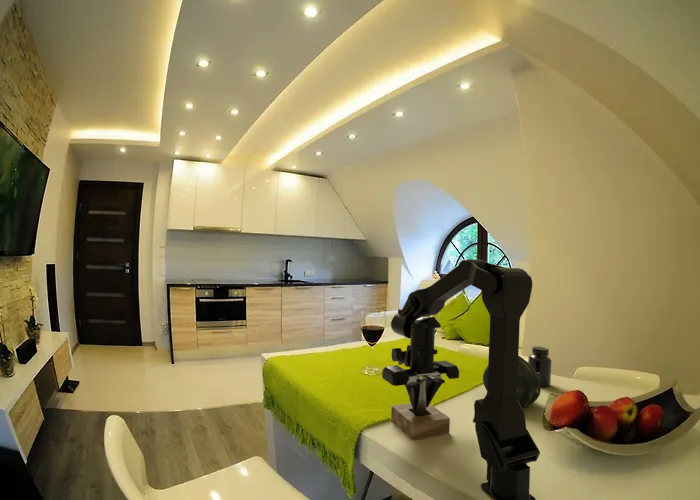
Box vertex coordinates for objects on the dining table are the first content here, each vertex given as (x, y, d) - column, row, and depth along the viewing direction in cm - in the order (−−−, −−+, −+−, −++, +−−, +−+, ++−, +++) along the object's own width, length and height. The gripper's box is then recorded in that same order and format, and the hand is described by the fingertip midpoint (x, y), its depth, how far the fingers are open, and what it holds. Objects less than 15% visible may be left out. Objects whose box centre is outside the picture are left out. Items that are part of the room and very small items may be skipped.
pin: (428, 417, 85) (429, 380, 85) (417, 419, 84) (419, 381, 84) (421, 412, 88) (422, 376, 88) (411, 414, 86) (412, 377, 86)
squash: (499, 369, 115) (489, 339, 107) (550, 384, 104) (542, 352, 97) (483, 407, 107) (470, 377, 100) (536, 427, 97) (526, 396, 89)
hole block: (449, 432, 83) (449, 417, 83) (412, 440, 79) (413, 424, 79) (424, 414, 92) (425, 400, 92) (391, 419, 88) (391, 405, 88)
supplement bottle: (529, 386, 115) (530, 349, 115) (525, 379, 122) (526, 344, 122) (553, 389, 113) (554, 351, 113) (547, 382, 120) (549, 346, 120)
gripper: (434, 333, 97) (432, 390, 97) (373, 337, 90) (370, 399, 89) (461, 344, 86) (459, 407, 86) (395, 349, 79) (392, 419, 79)
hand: (420, 407), depth 86 cm, fingers closed on pin, 3 cm apart
